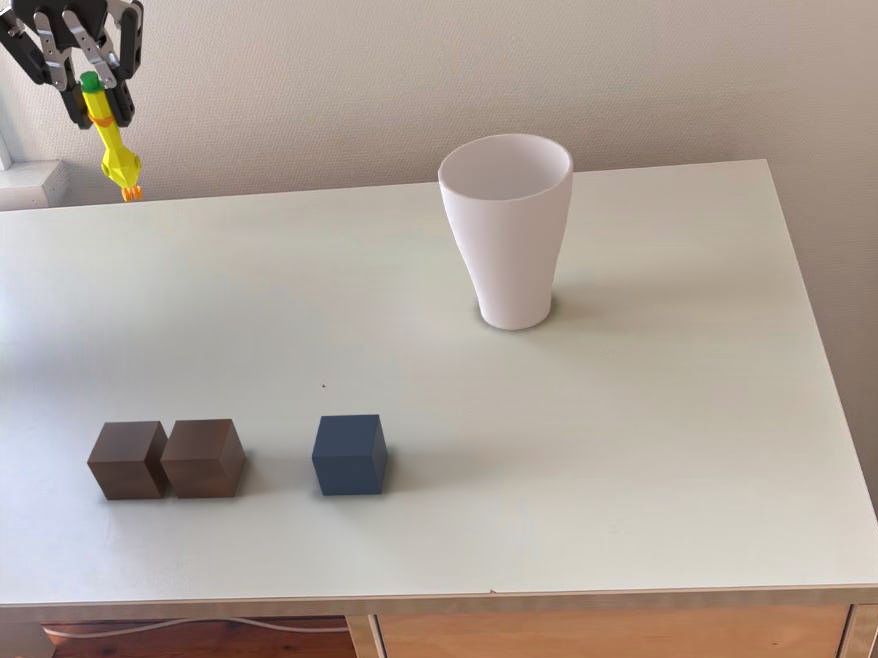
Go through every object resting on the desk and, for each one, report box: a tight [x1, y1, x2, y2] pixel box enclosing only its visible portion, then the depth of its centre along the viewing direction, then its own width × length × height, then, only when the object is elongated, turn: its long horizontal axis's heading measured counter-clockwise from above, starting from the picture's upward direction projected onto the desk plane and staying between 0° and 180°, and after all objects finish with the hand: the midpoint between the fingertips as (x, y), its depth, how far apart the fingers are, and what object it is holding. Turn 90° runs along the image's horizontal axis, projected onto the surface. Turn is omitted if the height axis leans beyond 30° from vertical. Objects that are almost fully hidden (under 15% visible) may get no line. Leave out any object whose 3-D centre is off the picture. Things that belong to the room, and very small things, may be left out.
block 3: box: [310, 413, 389, 497], centre depth 72 cm, size 4×4×4 cm
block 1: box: [86, 420, 170, 501], centre depth 74 cm, size 4×4×4 cm
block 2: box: [160, 418, 247, 500], centre depth 73 cm, size 4×4×4 cm
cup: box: [437, 133, 574, 331], centre depth 80 cm, size 10×10×14 cm
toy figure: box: [79, 70, 144, 203], centre depth 92 cm, size 7×4×12 cm, turn 17°
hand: (106, 124), depth 91 cm, fingers closed on toy figure, 3 cm apart
